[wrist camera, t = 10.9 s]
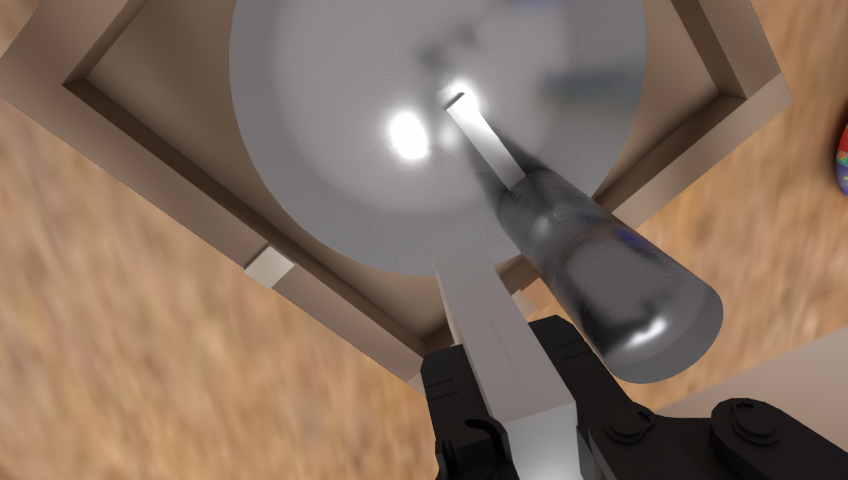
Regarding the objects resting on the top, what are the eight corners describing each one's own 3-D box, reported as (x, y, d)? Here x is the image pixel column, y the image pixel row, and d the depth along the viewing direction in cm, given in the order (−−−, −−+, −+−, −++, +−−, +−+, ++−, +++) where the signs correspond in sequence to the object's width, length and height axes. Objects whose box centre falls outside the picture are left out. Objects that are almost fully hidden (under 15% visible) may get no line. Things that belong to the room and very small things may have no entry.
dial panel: (453, -448, 13) (493, -606, 10) (728, 87, 21) (799, 101, 18) (47, 70, 17) (-24, 84, 14) (416, 350, 25) (428, 401, 22)
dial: (150, 63, 15) (-105, 133, 7) (478, -277, 13) (768, -882, 4) (415, 308, 22) (468, 515, 13) (672, 106, 19) (957, 187, 10)
